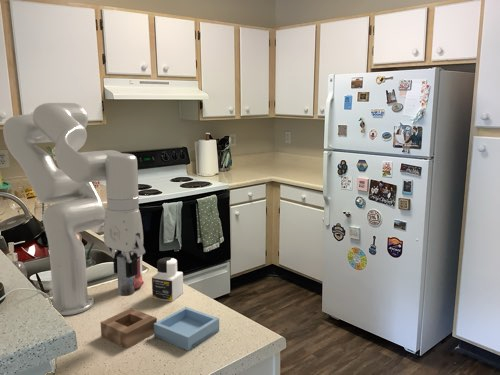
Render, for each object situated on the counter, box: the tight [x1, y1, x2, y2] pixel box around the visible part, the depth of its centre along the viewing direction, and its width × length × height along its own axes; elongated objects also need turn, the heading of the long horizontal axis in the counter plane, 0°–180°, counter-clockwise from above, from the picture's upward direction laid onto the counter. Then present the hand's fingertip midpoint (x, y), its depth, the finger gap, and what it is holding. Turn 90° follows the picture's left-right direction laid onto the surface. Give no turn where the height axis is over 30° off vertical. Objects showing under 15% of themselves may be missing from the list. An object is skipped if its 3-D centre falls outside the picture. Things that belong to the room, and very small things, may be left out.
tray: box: [153, 306, 220, 352], centre depth 116 cm, size 12×12×4 cm
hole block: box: [100, 307, 158, 349], centre depth 116 cm, size 10×10×4 cm
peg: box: [116, 253, 135, 297], centre depth 113 cm, size 4×4×10 cm
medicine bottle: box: [151, 257, 184, 302], centre depth 139 cm, size 7×7×12 cm
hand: (125, 273), depth 113 cm, fingers closed on peg, 4 cm apart
